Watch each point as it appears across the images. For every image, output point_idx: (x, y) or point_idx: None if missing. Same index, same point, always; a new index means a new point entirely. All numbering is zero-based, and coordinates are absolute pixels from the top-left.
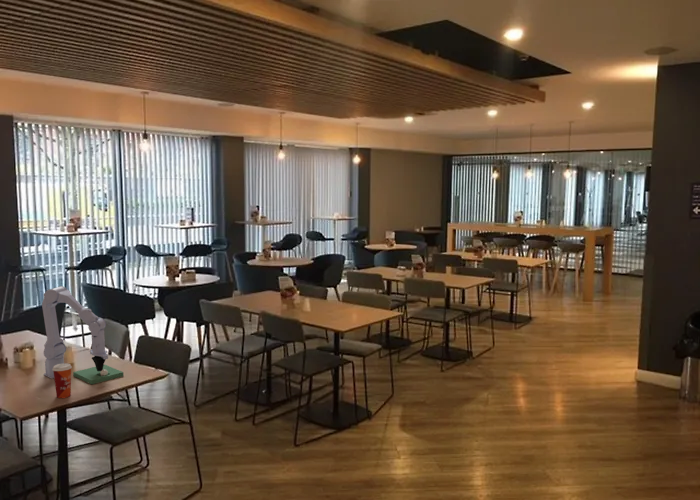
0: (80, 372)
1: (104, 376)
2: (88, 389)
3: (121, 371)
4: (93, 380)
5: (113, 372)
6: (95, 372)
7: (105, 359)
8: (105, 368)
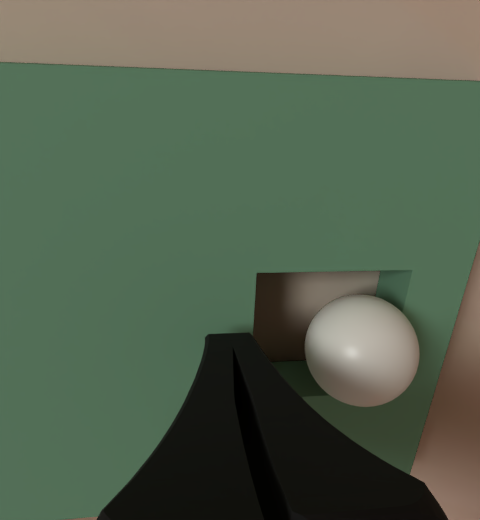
0: (10, 487)
1: (425, 362)
2: (470, 496)
3: (467, 85)
4: (406, 465)
5: (388, 206)
6: (160, 373)
7: (388, 469)
8: (59, 189)
